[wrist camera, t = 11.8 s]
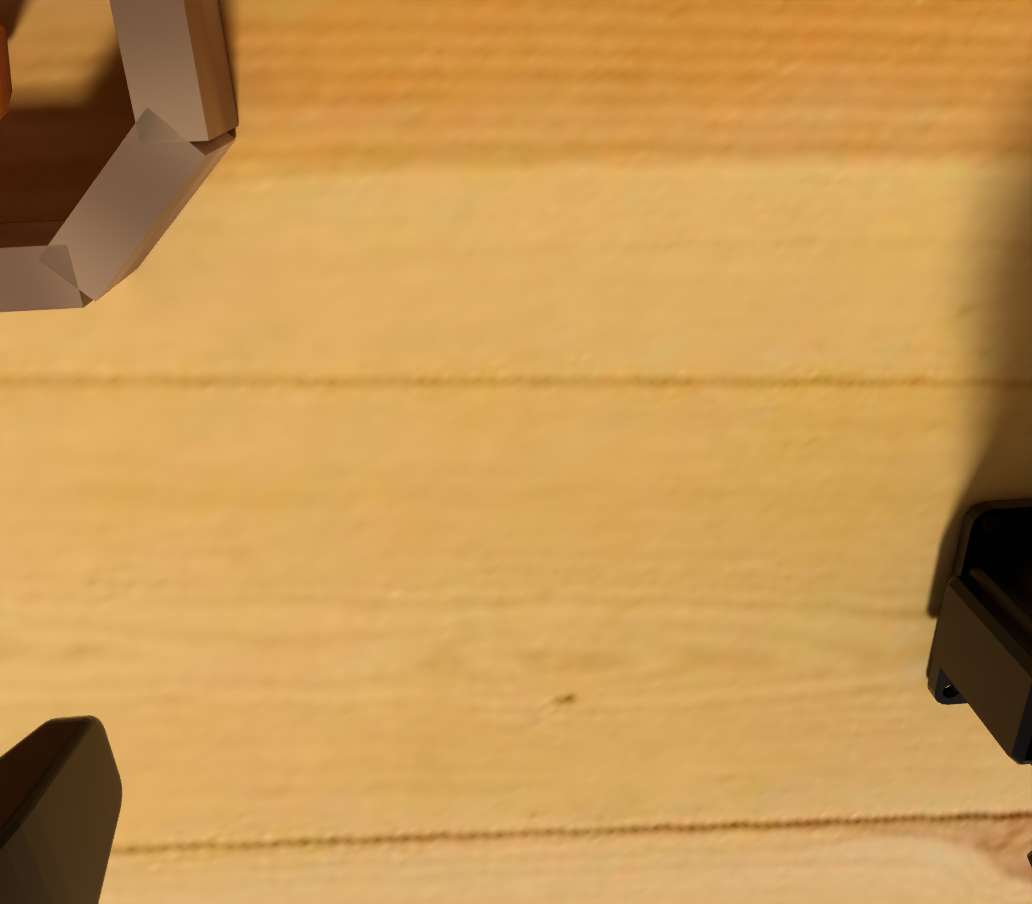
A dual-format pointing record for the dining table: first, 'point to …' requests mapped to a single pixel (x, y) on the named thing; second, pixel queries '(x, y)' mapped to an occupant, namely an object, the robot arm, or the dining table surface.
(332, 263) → the dining table surface
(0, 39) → the carrot
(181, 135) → the bead ring
